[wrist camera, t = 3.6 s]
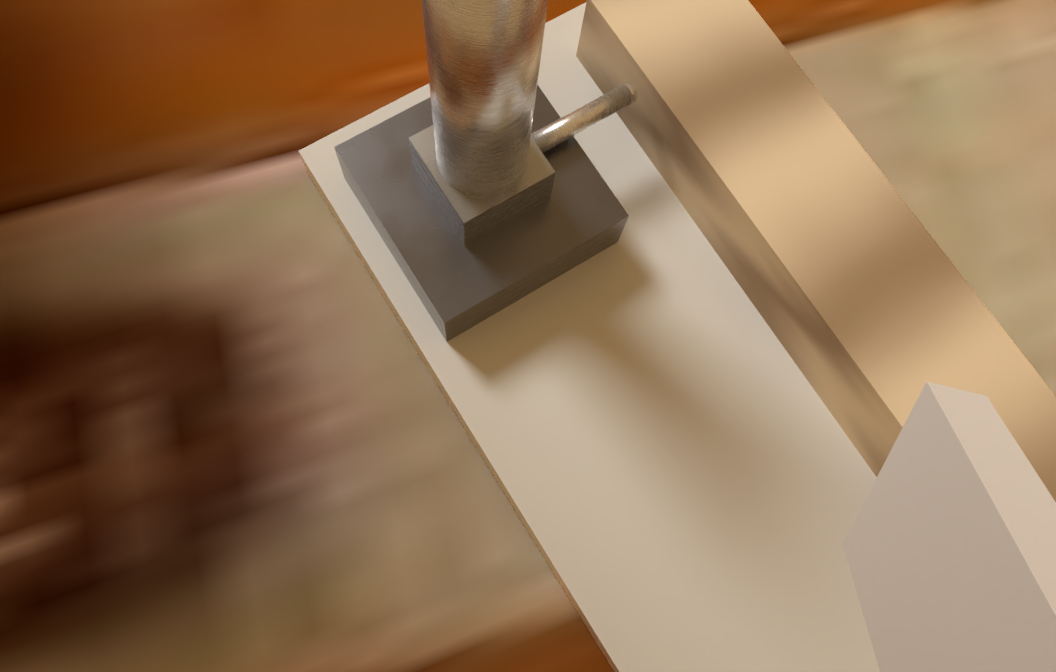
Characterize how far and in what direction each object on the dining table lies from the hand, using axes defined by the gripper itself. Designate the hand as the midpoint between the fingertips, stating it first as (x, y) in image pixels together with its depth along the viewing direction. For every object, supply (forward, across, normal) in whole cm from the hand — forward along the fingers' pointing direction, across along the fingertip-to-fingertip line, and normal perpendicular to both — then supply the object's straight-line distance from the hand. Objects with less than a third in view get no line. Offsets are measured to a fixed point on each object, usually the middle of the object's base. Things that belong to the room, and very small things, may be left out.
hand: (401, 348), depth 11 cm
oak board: (+15, +10, -4) cm, 18 cm away
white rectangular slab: (+14, +7, -7) cm, 17 cm away
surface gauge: (+15, 0, -3) cm, 16 cm away
